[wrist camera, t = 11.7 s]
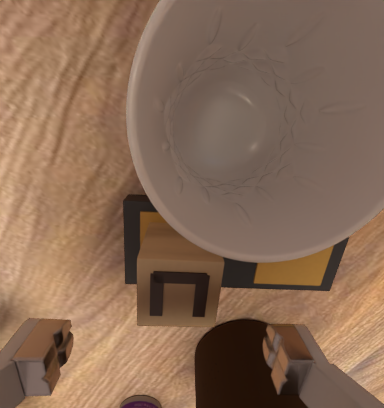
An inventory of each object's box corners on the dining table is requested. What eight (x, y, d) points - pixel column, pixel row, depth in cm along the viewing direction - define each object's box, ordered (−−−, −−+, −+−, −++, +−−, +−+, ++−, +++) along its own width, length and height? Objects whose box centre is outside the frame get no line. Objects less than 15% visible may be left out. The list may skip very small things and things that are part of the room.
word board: (128, 193, 16) (122, 201, 14) (343, 207, 17) (359, 215, 16) (129, 272, 18) (124, 286, 17) (319, 279, 20) (331, 293, 18)
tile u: (149, 221, 15) (136, 259, 11) (213, 225, 15) (225, 263, 11) (148, 275, 17) (136, 327, 12) (206, 277, 17) (215, 328, 13)
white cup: (253, 37, 13) (436, -192, 4) (289, 155, 16) (454, 198, 6) (139, 97, 14) (54, 35, 5) (191, 201, 16) (206, 299, 7)
